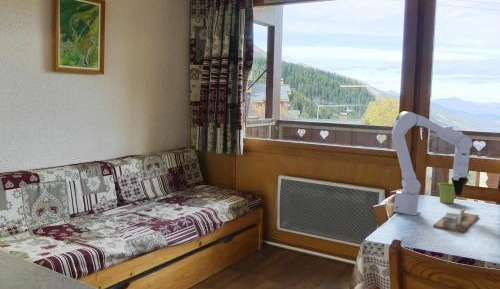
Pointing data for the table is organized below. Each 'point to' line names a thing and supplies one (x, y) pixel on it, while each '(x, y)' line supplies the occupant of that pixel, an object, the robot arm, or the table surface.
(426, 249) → the table surface
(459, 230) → the board
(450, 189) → the plant pot
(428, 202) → the table surface
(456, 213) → the sleeve
